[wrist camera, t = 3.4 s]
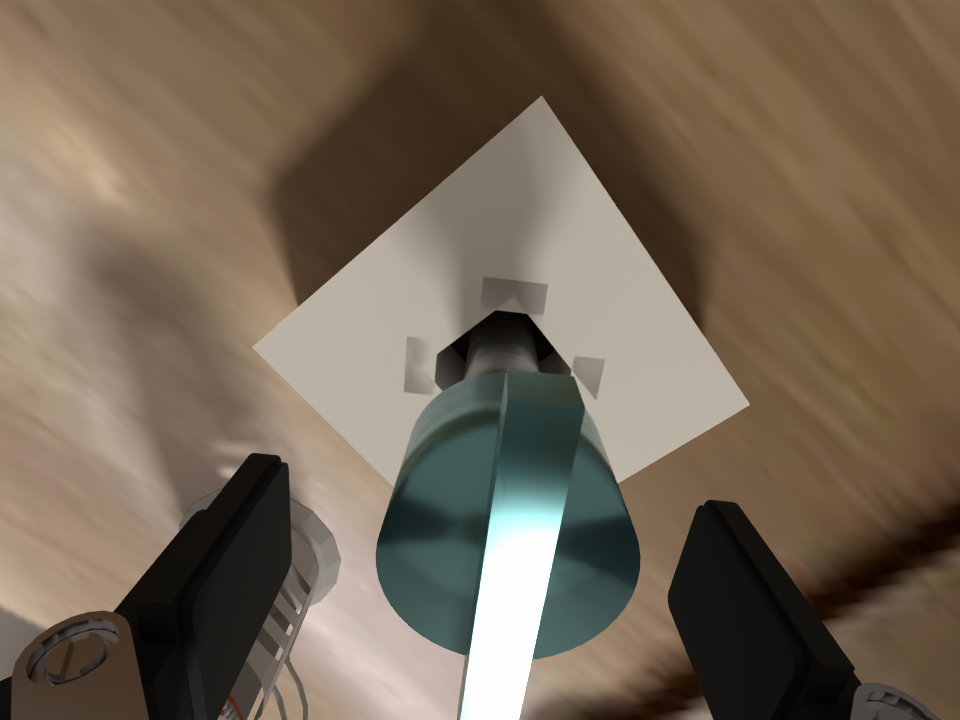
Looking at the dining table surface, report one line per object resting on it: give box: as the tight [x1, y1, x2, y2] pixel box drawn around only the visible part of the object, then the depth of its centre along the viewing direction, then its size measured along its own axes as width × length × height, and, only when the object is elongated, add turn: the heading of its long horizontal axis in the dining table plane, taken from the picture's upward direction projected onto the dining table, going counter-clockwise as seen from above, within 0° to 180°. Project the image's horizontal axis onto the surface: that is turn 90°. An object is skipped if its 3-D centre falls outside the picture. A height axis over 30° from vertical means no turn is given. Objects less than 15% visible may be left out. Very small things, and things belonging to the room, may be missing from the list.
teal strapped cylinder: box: [376, 310, 640, 720], centre depth 17 cm, size 9×6×16 cm, turn 174°
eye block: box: [252, 96, 750, 487], centre depth 22 cm, size 14×14×5 cm
